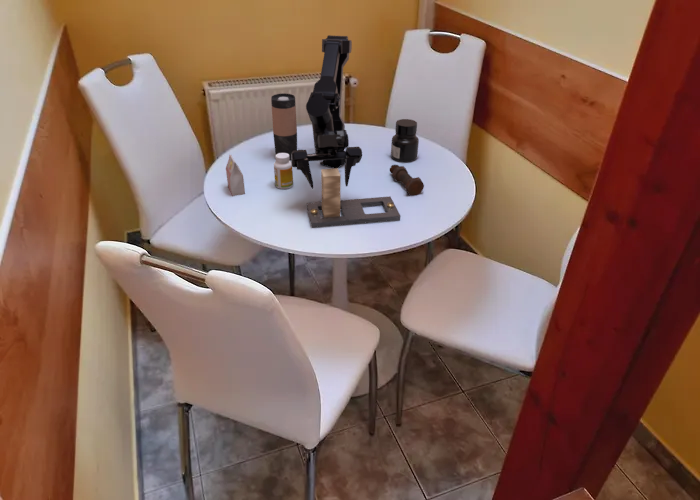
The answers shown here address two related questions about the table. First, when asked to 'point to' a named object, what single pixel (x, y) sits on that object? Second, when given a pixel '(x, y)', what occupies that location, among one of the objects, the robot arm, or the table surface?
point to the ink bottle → (405, 141)
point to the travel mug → (284, 123)
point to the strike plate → (354, 212)
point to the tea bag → (234, 178)
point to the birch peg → (330, 192)
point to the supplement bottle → (283, 171)
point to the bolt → (407, 180)
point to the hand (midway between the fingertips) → (329, 187)
